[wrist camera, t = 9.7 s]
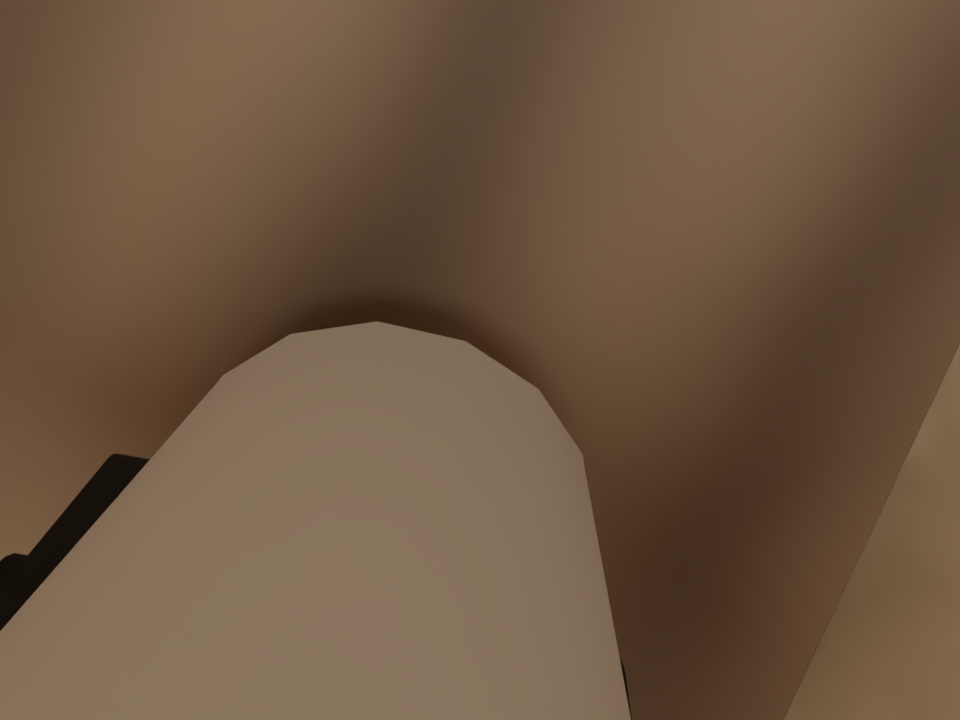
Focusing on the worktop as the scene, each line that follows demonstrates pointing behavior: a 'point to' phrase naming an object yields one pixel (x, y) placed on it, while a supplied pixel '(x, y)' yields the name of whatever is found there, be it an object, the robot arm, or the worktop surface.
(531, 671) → the white coffee cup
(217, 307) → the walnut board
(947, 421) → the worktop surface
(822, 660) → the worktop surface
